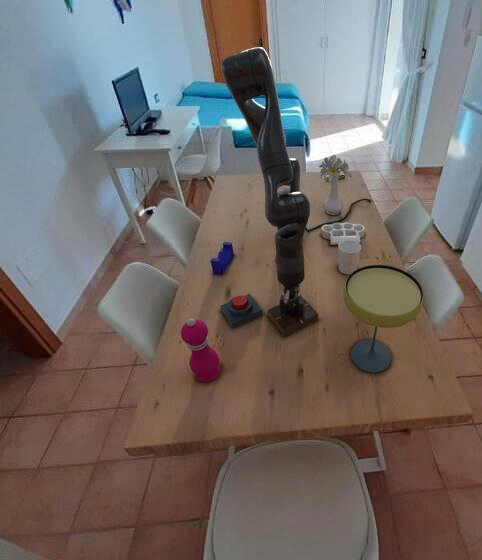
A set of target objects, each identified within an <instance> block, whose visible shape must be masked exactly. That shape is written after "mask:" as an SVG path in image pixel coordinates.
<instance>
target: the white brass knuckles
mask: <svg viewBox="0 0 482 560" xmlns="http://www.w3.org/2000/svg"><path fill="white" fill-rule="evenodd" d="M365 229H366V228H365V226H364V225H363V224H361V223H352V222H337V223H333V224H327V225H323V226H321V229H320V230H321V231H320V233H321V237H322V238H324V239H326V240H329V244H330V245H331V246H333V245H334V246H335V245H337V246H338V245H339V243H340V242H342V241H345V240H353V241H356V242H358V243H359V244H360V245H361V238H363V237H364V236H365Z"/></svg>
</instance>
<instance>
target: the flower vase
mask: <svg viewBox="0 0 482 560" xmlns="http://www.w3.org/2000/svg"><path fill="white" fill-rule="evenodd" d="M318 167H319V168H321V169H320V171H319V174H320V176H319V179H321V178H322V177H323V176H326V177H327V176H328V182H330V191H329V196H328V197H327V198H326V199H325V200H324V202H323V204H322V207H323V209H324V211H325V212H326V214H327V215H330V216H337V215H339V214H340V212H341V211H342V210H343V209H344V202H343V201H342V199H341V198H340V197H339V191H338V189H339V185H338V184H339V178H340V175H341V172H342V173H343V174H344V175H345V176H346V177H349V178H350V177H351V174H350V172H349V169H350V167H349V163H347V161H346V159H344V160H342V159H341V158H340V157H337V155H336V154H333V155H331V156H330V157H329V158H328V157H327V156H326V157H324V160H323V161H321V164H320V165H319V166H318Z"/></svg>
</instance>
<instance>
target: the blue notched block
mask: <svg viewBox="0 0 482 560" xmlns="http://www.w3.org/2000/svg"><path fill="white" fill-rule="evenodd" d="M234 257H235V252H234V246H233V242H230V241H224V242H223V243H222V247H221V248H220V250H219V251H218V255H217V257H216V258H215V257H211V258H210V265H211V269H212V273H213V275H219V276H222V275H223V274H224V272H225V270H226V269H227V267H228V266H229V264H230V263H231V262H232V260H233V259H234Z"/></svg>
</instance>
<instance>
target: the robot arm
mask: <svg viewBox="0 0 482 560" xmlns="http://www.w3.org/2000/svg"><path fill="white" fill-rule="evenodd" d="M220 71H221V75H222V79H223V80H224V83H225V86H226V88H227V90H228V93H229V94H230V96H231V97H232V99H233V101H234V103H235V105H236V106H237V108H238V110H239V111H240V113H241V115H242V116H243V119H244V120H245V123H246V125H247V128H248V131H249V133H250V135H251V138H252V140H253V141H254V144H255V147H256V155H257V159H258V164H259V166H260V171H261V174H262V178H263V183H264V214H265V218H266V221H267V222H268V223H269V224H270V225H271V226H272V227H274V228H275V227H276V229H277V231H276V232H275V235H274V243H275V267H276V278H277V281H278V283H279V284H281V285H282V292H283V295H284V299H282V300H281V303H282V305H283V307H284V309H287V313H288V314H289V315H295V301H296V299H297V297H298V296H299V292H300V286H301V284H302V283H303V282H304V281H305V277H306V276H305V273H306V272H305V254H304V236H305V234H306V233H305V232H307V233H308V232H309V233H310V232H312V231H313V230H317V229H318V228H319V229H320V227H321V228H322V226H324V225H331V224H333V223H341V222H342V221H344V220H345V219H347V217H348V216H349V214H350V213H351V211H352V207H353V206H354V205H356V204H357V203H360V202H363V201H367V202H369V203H370V202H371V201H372V200H371V199H369V198H360V199H358V200H355V201H354V202H352V203H350V205H349V210H348V211H347V212H346V214H345V215H344V216H343V217H342V218H340V219H338V220H334V221H328V222H324V223H321V224H318V225H316V226H315V227H313V228H311V229H308V227H307V226H308V222H309V219H310V215H311V204H310V201H309V198H308V197H307V195H306V194H305V193H304V192H301V164H300V161H299V159H297V158H291V157H290V155H289V151H288V148H287V144H286V142H287V137H286V133H285V130H284V127H283V121H282V113H281V107H280V101H279V95H278V94H279V93H278V90H277V89H278V88H277V85H276V79H275V73H274V70H273V67H272V63H271V60H270V58H269V55H268V53H267V51H266V50H265V48H264V47H260V46H258V47H253V48H249V49H245V50H243V51H239V52H237V53H234V54H230V55H227V56H226V57H224V58H223V59H222V61H221V63H220ZM262 96H263V97H264V105H261V104H259V103H258V102H256V101H255V100H254V99H256V98H259V97H262ZM284 186H287V187H288V188H285V189H282V190H279V188H281V187H284ZM278 190H279V191H278Z"/></svg>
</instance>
